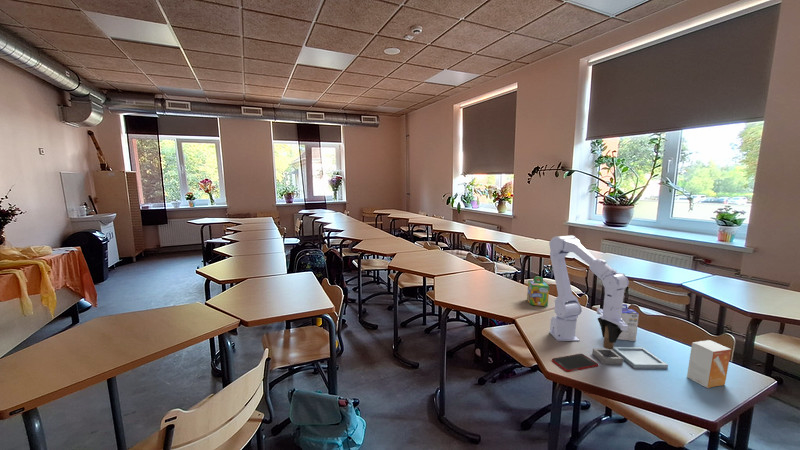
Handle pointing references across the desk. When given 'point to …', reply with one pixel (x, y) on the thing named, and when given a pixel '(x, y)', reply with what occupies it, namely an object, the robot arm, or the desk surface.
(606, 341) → the pin
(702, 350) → the small box
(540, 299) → the chalk box
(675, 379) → the desk surface
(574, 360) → the cell phone
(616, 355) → the square frame
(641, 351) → the tray
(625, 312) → the ink cartridge box
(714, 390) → the desk surface
